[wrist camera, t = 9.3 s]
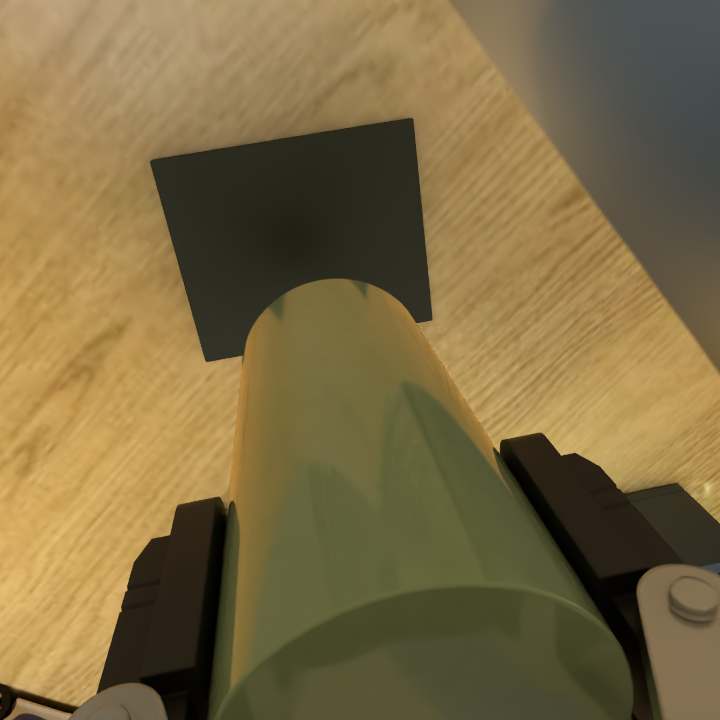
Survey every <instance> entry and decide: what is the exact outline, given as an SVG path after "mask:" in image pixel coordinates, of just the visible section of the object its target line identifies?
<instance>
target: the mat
mask: <svg viewBox="0 0 720 720" xmlns="http://www.w3.org/2000/svg"><path fill="white" fill-rule="evenodd" d="M150 164H151V167H152V171H153V174H154V178H155V181H156V185H157V189H158V192H159V196H160V199H161V203H162V207H163V210H164V214H165V217H166V221H167V225H168V228H169V232H170V235H171V239H172V242H173V246H174V250H175V253H176V257H177V260H178V264H179V268H180V271H181V275H182V278H183V282H184V286H185V289H186V293H187V296H188V300H189V303H190V307H191V311H192V314H193V318H194V321H195V325H196V329H197V332H198V336H199V339H200V343H201V347H202V350H203V354H204V357H205V361H206V362H210V361H215V360H220V359H226V358H231V357H237V356H242V355H243V351H244V347H245V343H246V340H247V338H248V335H249V333H250V331H251V329H252V327H253V325H254V324H255V322H256V320H257V319H258V318H259V316H260V315H261V314H262V313H263V311H264V310H265V309H266V308H267V307H268V306H269V305H270V304H271V303H273V302H274V301H275V300H276V299H278V298H279V297H280V296H282V295H283V294H285V293H287V292H288V291H290V290H292V289H294V288H296V287H299V286H301V285H304V284H307V283H310V282H314V281H318V280H325V279H350V280H357V281H361V282H365V283H368V284H371V285H373V286H376V287H378V288H380V289H382V290H384V291H385V292H387V293H389V294H391V295H392V296H393V297H394V298H396V299H397V300H398V301H399V302H400V303H401V304H402V305H403V306H404V307H405V308H406V309H407V310H408V311H409V313H410V314H411V316H412V317H413V318H414V320H415V322H416V323H420V322H425V321H430V320H432V309H431V298H430V288H429V278H428V267H427V257H426V246H425V236H424V226H423V215H422V205H421V195H420V184H419V174H418V163H417V153H416V143H415V132H414V122H413V119H412V118H408V119H401V120H395V121H389V122H383V123H377V124H371V125H364V126H358V127H352V128H346V129H340V130H334V131H327V132H321V133H315V134H309V135H303V136H297V137H290V138H284V139H278V140H272V141H266V142H260V143H253V144H247V145H241V146H235V147H229V148H223V149H216V150H210V151H204V152H198V153H192V154H186V155H179V156H173V157H167V158H161V159H155V160H152V161H150Z"/></svg>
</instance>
